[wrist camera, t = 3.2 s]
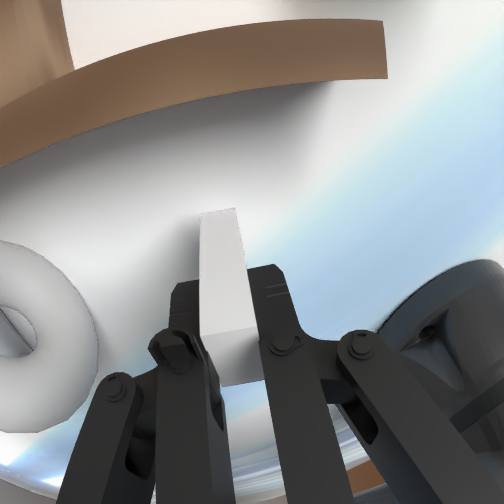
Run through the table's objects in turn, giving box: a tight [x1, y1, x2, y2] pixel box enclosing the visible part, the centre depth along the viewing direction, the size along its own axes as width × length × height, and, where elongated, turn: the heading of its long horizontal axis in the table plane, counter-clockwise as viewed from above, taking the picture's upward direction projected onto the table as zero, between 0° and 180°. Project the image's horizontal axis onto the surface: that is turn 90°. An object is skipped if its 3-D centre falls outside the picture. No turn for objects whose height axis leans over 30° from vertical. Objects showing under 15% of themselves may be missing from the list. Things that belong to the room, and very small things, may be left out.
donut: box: [0, 241, 98, 433], centre depth 11 cm, size 10×3×10 cm, turn 47°
